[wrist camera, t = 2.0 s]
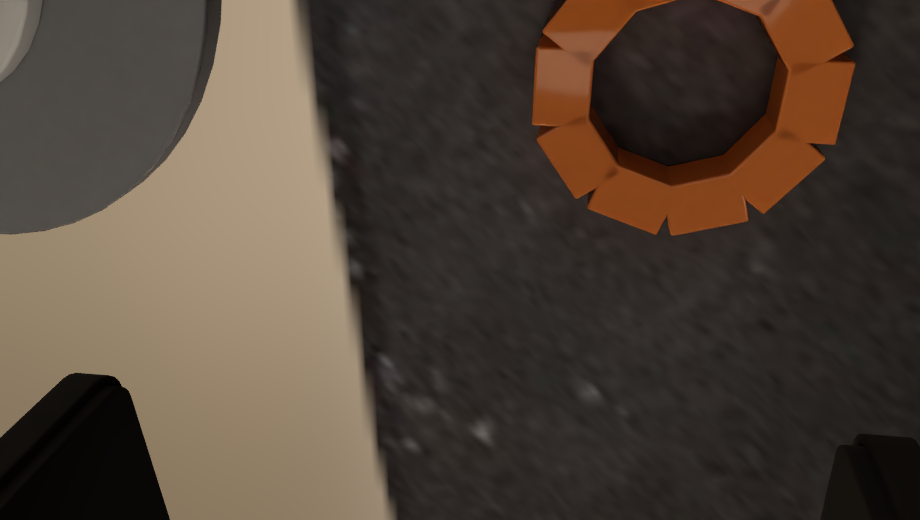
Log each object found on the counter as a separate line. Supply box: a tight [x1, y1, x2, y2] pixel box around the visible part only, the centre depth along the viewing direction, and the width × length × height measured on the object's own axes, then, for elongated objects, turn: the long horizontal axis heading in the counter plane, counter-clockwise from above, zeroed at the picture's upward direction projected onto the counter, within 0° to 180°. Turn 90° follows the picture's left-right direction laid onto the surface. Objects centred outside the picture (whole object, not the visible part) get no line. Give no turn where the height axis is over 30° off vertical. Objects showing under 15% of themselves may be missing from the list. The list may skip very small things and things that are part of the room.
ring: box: [532, 0, 856, 236], centre depth 24 cm, size 9×10×2 cm
